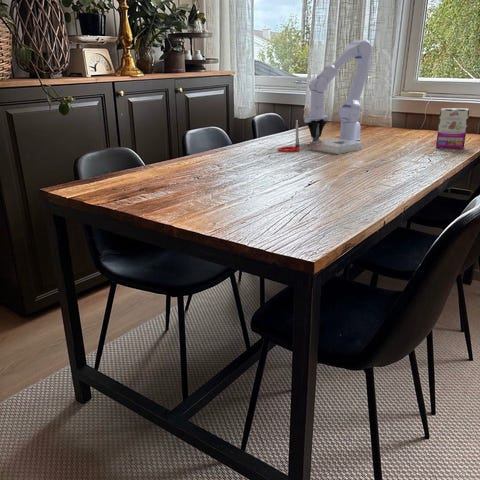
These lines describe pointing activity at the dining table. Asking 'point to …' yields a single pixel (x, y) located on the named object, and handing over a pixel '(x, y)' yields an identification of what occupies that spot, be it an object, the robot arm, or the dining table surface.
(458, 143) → the candy bar box
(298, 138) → the tow hook
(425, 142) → the dining table surface
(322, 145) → the bore block
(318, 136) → the pin
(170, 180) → the dining table surface
